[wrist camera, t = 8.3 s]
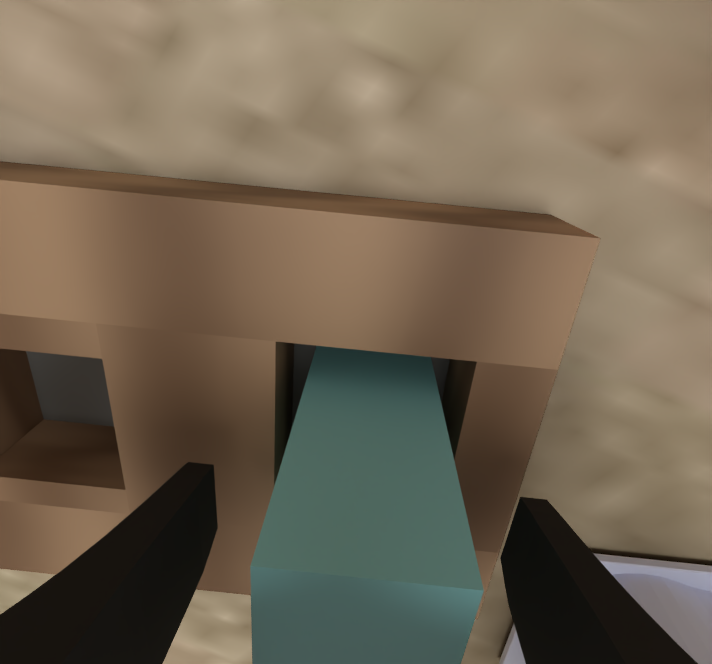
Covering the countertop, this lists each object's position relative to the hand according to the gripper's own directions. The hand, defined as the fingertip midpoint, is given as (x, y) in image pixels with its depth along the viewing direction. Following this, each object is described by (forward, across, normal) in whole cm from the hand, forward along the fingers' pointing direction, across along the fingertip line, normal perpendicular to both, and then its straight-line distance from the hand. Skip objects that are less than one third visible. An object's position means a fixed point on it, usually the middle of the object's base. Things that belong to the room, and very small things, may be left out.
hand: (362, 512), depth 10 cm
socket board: (+5, +5, 0) cm, 7 cm away
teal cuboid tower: (+5, 0, 0) cm, 5 cm away
